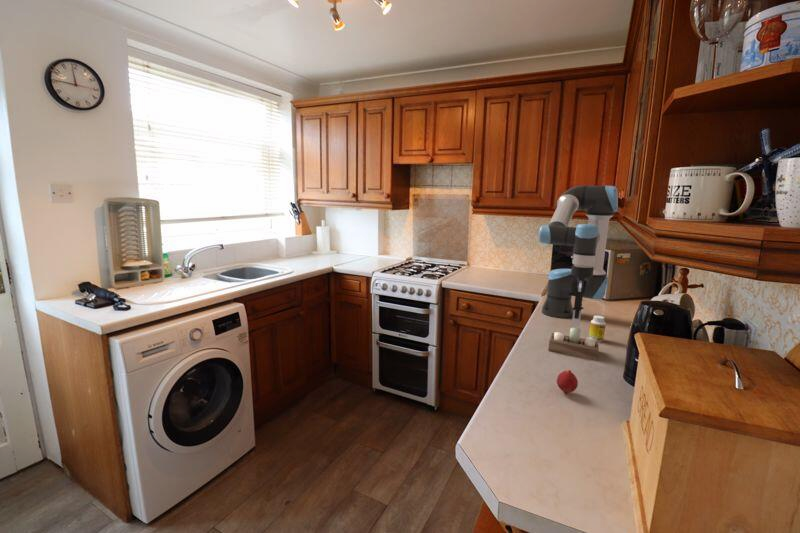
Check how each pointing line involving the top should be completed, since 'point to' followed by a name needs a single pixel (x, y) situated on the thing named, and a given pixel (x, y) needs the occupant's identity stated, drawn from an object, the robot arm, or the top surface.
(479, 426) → the top surface
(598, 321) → the supplement bottle
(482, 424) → the top surface
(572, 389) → the onion
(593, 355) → the socket block
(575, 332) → the pale green egg
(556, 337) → the cream egg
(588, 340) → the white egg
